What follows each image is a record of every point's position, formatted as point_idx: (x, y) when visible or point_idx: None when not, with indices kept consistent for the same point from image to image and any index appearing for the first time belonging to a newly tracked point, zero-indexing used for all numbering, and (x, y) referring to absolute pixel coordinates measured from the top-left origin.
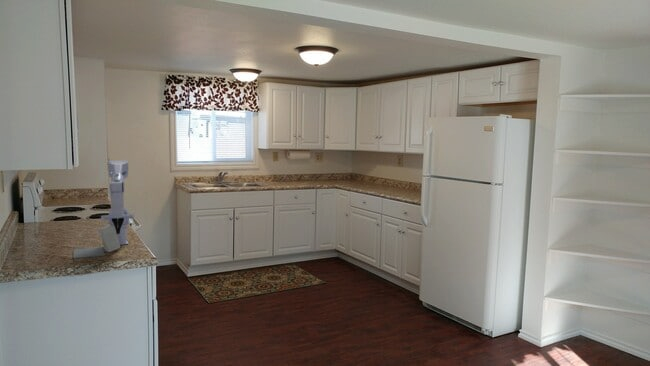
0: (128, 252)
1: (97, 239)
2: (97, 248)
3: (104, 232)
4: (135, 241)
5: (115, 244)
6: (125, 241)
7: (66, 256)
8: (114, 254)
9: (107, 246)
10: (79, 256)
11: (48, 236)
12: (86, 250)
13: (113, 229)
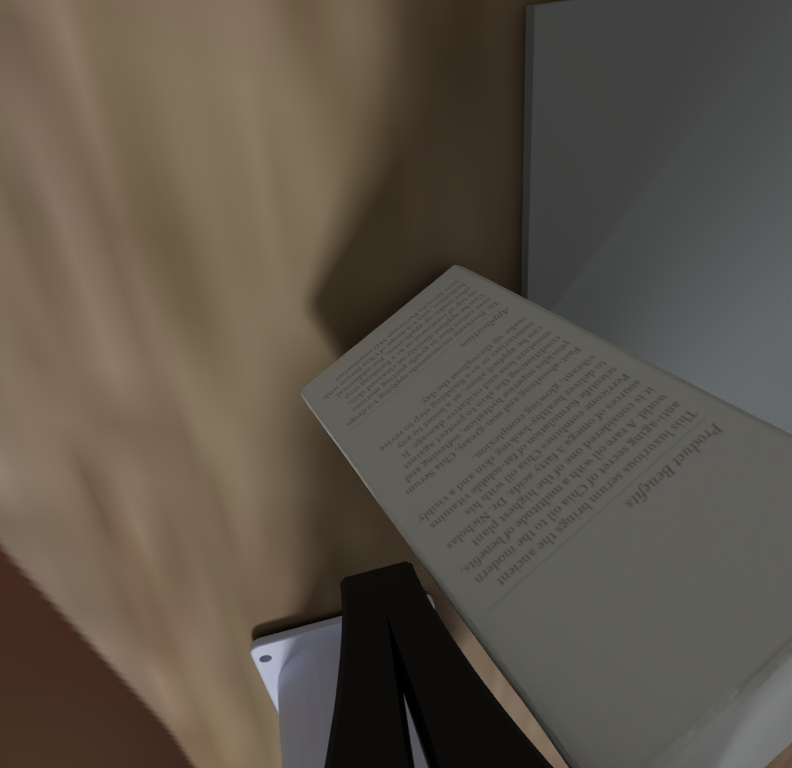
0: (125, 214)
1: (539, 745)
2: None
3: (764, 466)
4: (197, 731)
5: (386, 380)
6: (288, 679)
7: None
8: (363, 106)
9: (517, 295)
10: None
11: (786, 761)
12: (711, 388)
13: (538, 648)
